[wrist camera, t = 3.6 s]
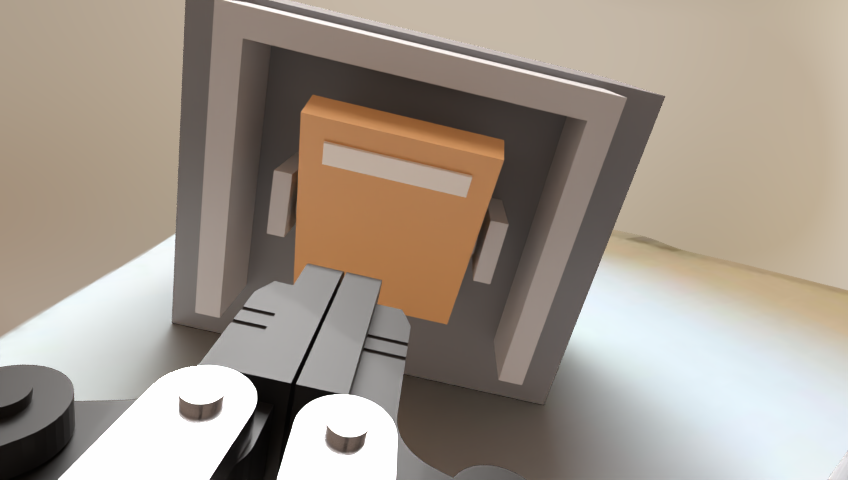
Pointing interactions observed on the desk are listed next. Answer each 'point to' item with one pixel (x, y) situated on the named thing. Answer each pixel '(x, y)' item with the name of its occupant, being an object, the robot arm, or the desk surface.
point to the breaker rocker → (392, 201)
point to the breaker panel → (419, 99)
